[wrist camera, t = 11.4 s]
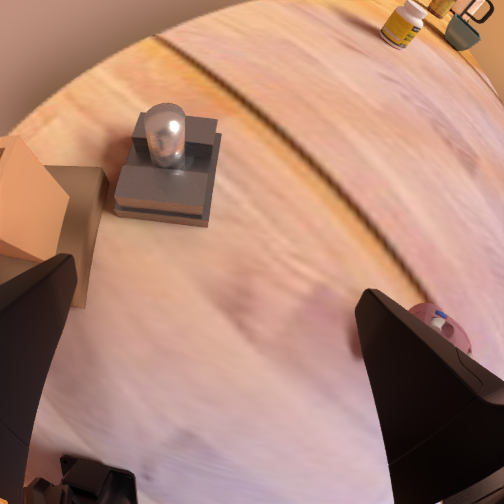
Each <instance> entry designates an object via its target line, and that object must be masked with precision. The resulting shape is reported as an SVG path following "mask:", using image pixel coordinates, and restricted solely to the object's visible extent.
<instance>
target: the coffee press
mask: <svg viewBox="0 0 504 504" xmlns="http://www.w3.org/2000/svg"><path fill="white" fill-rule="evenodd" d="M484 1H485V0H457V1H456V3H455V4H454V5H453V6H452V8H451V9H452V10H453V11H454V12H456V13H457V14H458V15H459V16H461V17H462V18H463V19H464V20H467V23H468V19H469V18H471V19H472V20H474V21H475V22H477V23H479V24H481V23H484V22H485V21H486V20H487V19H488V18H489V17H490V16H491V15H492V13H493V11H494V6H493V4H492V3H491V2H490V1H489V0H486V1H487V2H488V3H489V5H490V10H489V11H488V12H487V14H486V15H485V16H484V17H483V18H482V19H481V20H476V19H475V18H474V17H473V16H472V15H473V14H474V13H475V11H476V10H477V9H478V8H479V7H480V6H481V5H482V4H483V2H484Z"/></svg>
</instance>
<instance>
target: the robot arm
mask: <svg viewBox="0 0 504 504" xmlns="http://www.w3.org/2000/svg"><path fill="white" fill-rule="evenodd" d="M77 283H78V276H77V270H76V264H75V259H74V256H73V255H72V254H67V253H59V254H57V255H55V256H53V257H51V258H49V259H47V260H45V261H43V262H42V263H40V264H38V265H36V266H34V267H32V268H30V269H28V270H26V271H25V272H23V273H21V274H19V275H17V276H15V277H14V278H12V279H10V280H8V281H6V282H5V283H3V284H1V285H0V498H2V499H4V500H6V501H7V502H8V504H138V498H137V488H136V477H135V475H134V474H133V473H131V472H128V471H123V470H119V469H114V468H110V467H108V466H105V465H101V464H97V463H93V462H90V461H86V460H83V459H77V458H74V457H71V456H68V455H62V456H61V458H60V463H61V468H62V474H63V478H62V480H61V483H60V484H59V485H58V486H54V485H53V483H50V482H48V481H46V480H45V479H43V478H35V479H34V480H33V481H32V482H31V483H30V484H29V485H28V486H27V487H24V488H23V486H24V477H25V470H26V463H27V457H28V451H29V444H30V439H31V434H32V430H33V425H34V421H35V417H36V413H37V409H38V405H39V401H40V398H41V394H42V390H43V387H44V384H45V380H46V377H47V374H48V371H49V368H50V365H51V362H52V359H53V356H54V353H55V350H56V348H57V345H58V342H59V339H60V337H61V334H62V332H63V329H64V326H65V323H66V319H67V316H68V312H69V309H70V306H71V302H72V299H73V296H74V293H75V290H76V287H77ZM355 318H356V323H357V328H358V334H359V339H360V345H361V350H362V355H363V359H364V362H365V366H366V370H367V373H368V377H369V381H370V385H371V389H372V393H373V397H374V401H375V405H376V409H377V413H378V418H379V422H380V427H381V431H382V436H383V441H384V445H385V450H386V456H387V461H388V464H389V465H388V467H389V473H390V478H391V485H392V491H393V498H394V504H436V503H438V502H440V503H441V504H504V381H503V380H501V379H500V378H499V377H497V376H496V375H494V374H493V373H491V372H490V371H489V370H487V369H486V368H484V367H483V366H482V365H480V364H479V363H477V362H476V361H475V360H473V359H472V358H470V357H469V356H468V355H467V354H465V353H464V352H463V351H461V350H460V349H459V348H457V347H455V346H454V345H453V344H452V343H451V342H449V341H448V340H447V339H445V338H444V337H443V336H441V335H440V334H439V333H437V332H436V331H435V330H433V329H432V328H431V327H429V326H428V325H427V324H425V323H424V322H423V321H421V320H420V319H418V318H417V317H416V316H414V315H413V314H412V313H410V312H409V311H407V310H406V309H405V308H403V307H402V306H401V305H399V304H398V303H396V302H395V301H394V300H392V299H391V298H389V297H388V296H386V295H385V294H384V293H382V292H381V291H379V290H378V289H370V288H368V289H366V290H365V291H364V292H363V294H362V296H361V298H360V300H359V302H358V304H357V306H356V308H355ZM64 459H65V460H67V461H68V462H66V461H65V460H64ZM127 476H129V477H131V479H129V478H127Z"/></svg>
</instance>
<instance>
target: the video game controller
mask: <svg viewBox="0 0 504 504" xmlns="http://www.w3.org/2000/svg"><path fill="white" fill-rule="evenodd" d="M409 312H410V313H412V314H413V315H414V316H416V317H417V318H418V319H420V320H421V321H423V322H424V323H425V324H427V325H428V326H429V327H431V328H432V329H433V330H435V331H436V332H437V333H439V334H440V335H441V336H443V337H444V338H445V339H447V340H448V341H449V342H451V343H452V344H453V345H454V346H455V347H457V348H459V349H460V350H461V351H463V352H464V353H465V354H467V355H468V356H469V357H470V358H472V348H471V343H470V340H469V338H468V336H467V334H466V332H465V331H464V329H463V328H462V327H461V326H460V325H459V324H458V323H457V322H456V321H455V320H453V319H452V318H451V317H449V316H447V315H446V314H444V313H443V312H442V310H441V309H440V308H439V307H438V306H436V305H435V304H432V303H420V304H417V305H415V306H413V307H412V308H411V309H410V310H409Z"/></svg>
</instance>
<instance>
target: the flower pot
mask: <svg viewBox="0 0 504 504" xmlns="http://www.w3.org/2000/svg"><path fill="white" fill-rule="evenodd" d="M445 39H446V40H447V41H448V42H449V43H450V44H451V45H452V46H453V47H455V48H456V50H458V51H463V50H467V49H469V48H471V47H472V46H474V45H475V44H476V43H478V42H479V41H481V38H480V34H479V33H478V32H477V31H476V30H475V29H474V28H473V27H471V26H470V25H469V24H468V23H467V22H466V21H465V20H464V19H463V18H462V17H461V16H459V15H458V14H457V13H455V15H454V16H453V18H452V19H451V21H450V22H449V24H448V26H447V29H446V32H445Z"/></svg>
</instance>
